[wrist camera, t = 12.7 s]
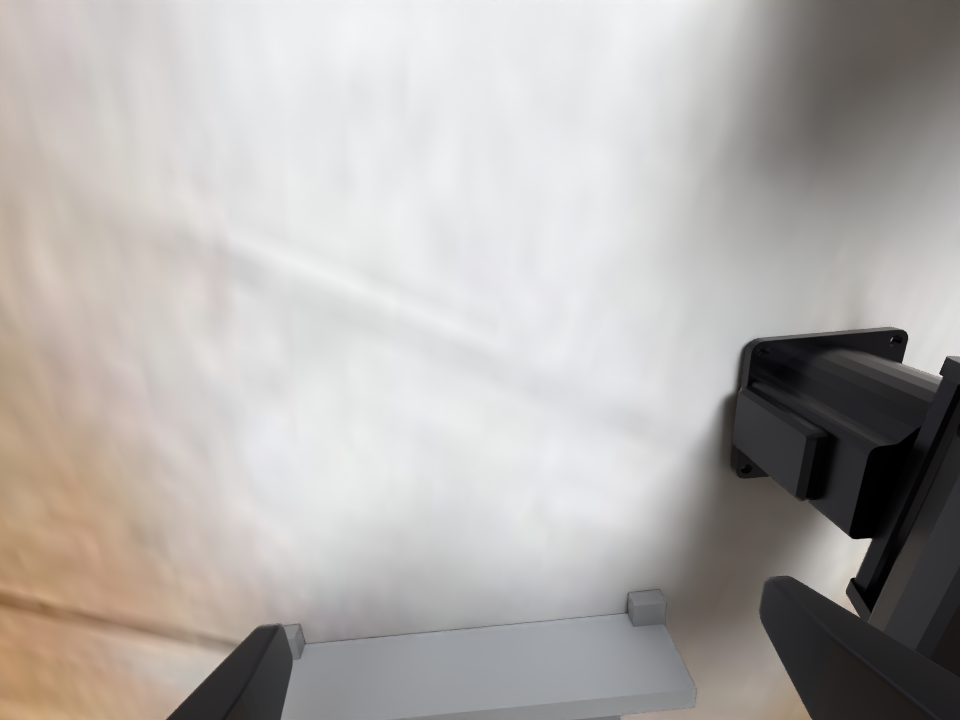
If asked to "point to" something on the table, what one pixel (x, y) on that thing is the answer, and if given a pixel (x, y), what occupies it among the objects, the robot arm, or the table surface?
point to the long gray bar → (496, 671)
